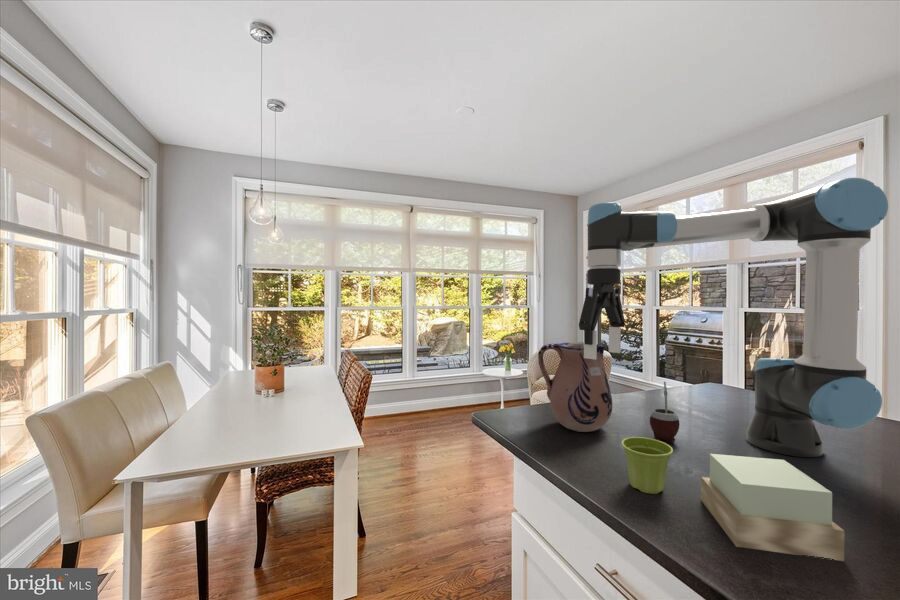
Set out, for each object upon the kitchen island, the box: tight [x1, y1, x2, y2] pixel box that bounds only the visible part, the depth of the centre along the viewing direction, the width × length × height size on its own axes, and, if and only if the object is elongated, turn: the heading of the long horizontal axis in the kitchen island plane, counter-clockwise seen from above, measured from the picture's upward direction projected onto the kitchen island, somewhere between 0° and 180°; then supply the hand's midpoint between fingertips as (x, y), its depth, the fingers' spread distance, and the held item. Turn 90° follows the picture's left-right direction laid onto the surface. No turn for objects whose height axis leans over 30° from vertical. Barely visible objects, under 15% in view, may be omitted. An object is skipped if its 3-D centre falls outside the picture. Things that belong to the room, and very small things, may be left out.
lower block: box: [700, 476, 845, 562], centre depth 66 cm, size 14×14×5 cm
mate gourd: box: [649, 381, 680, 446], centre depth 105 cm, size 8×8×15 cm
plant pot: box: [621, 436, 674, 495], centre depth 79 cm, size 9×9×9 cm
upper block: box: [709, 453, 833, 525], centre depth 66 cm, size 12×12×5 cm
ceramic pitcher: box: [537, 341, 613, 433], centre depth 115 cm, size 18×21×25 cm
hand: (602, 355), depth 93 cm, fingers open, 13 cm apart
